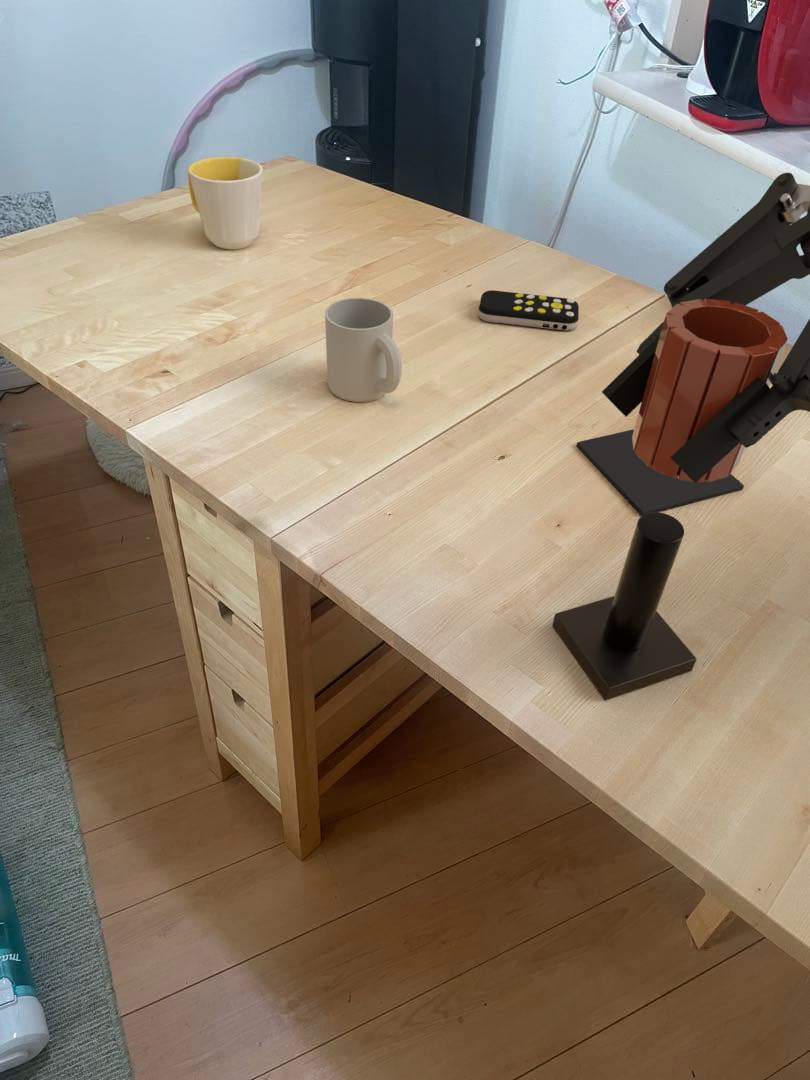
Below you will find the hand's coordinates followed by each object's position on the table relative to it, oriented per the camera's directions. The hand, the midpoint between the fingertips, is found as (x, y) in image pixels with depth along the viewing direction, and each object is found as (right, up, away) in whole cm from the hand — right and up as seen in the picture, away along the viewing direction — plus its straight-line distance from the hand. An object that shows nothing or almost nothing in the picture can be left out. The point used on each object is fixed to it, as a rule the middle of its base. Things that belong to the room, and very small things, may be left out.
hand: (647, 435), depth 51 cm
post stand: (+2, -15, +14) cm, 20 cm away
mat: (+10, +1, +31) cm, 33 cm away
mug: (-42, +38, +69) cm, 90 cm away
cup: (-20, +10, +40) cm, 46 cm away
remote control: (+1, +22, +55) cm, 59 cm away
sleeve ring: (+3, -1, +2) cm, 4 cm away
